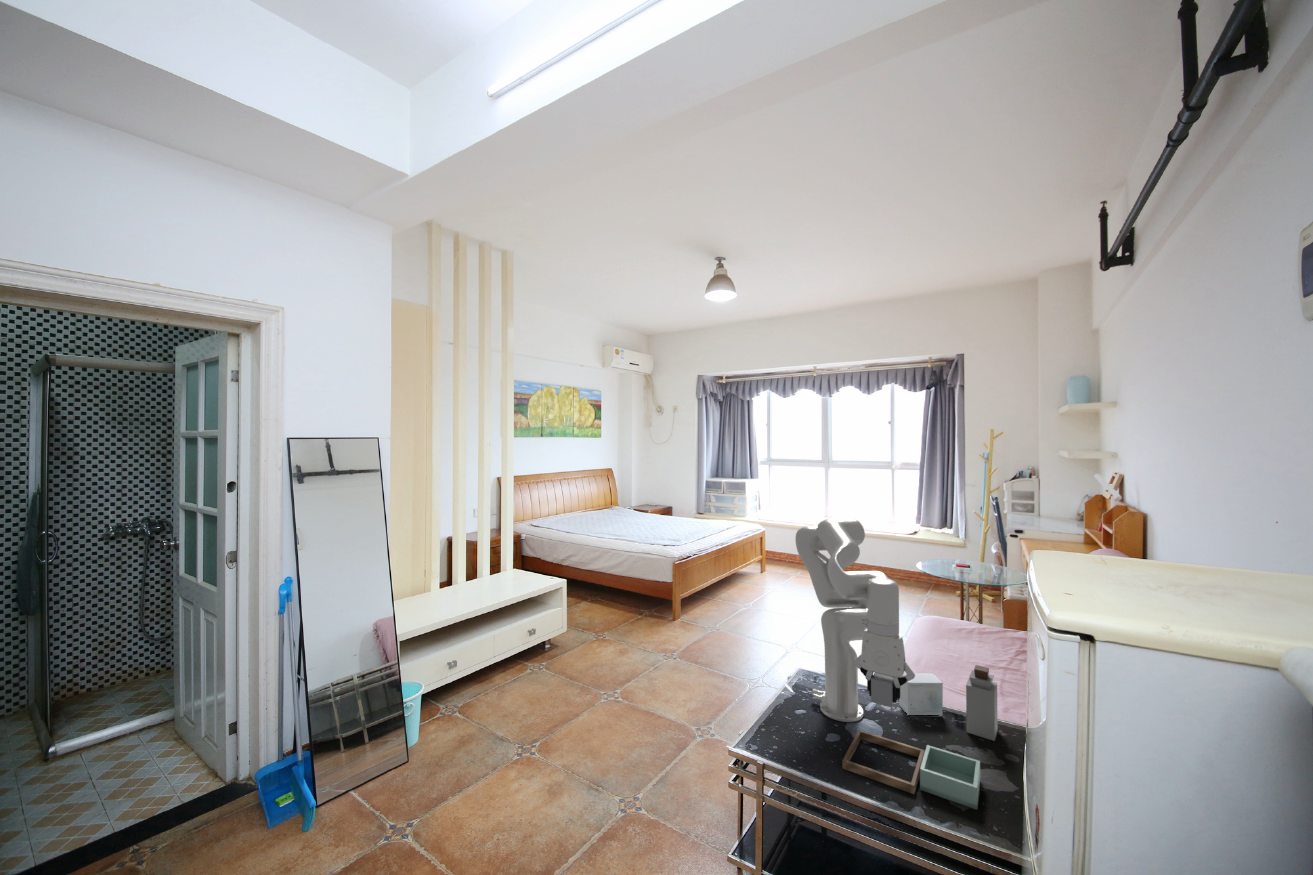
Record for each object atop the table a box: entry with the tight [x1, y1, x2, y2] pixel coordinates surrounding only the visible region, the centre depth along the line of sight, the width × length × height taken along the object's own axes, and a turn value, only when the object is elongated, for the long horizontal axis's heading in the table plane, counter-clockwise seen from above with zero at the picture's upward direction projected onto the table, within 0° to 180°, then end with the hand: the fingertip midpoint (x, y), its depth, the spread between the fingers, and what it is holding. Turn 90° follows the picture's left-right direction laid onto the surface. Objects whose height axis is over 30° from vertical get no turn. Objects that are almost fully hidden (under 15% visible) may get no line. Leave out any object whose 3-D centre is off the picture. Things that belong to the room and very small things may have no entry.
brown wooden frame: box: [841, 729, 926, 795], centre depth 132 cm, size 17×17×2 cm
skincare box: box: [899, 672, 944, 717], centre depth 156 cm, size 10×6×10 cm, turn 88°
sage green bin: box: [919, 744, 981, 811], centre depth 123 cm, size 12×12×5 cm
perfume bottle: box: [965, 664, 999, 742], centre depth 145 cm, size 7×7×18 cm
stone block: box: [870, 672, 895, 708], centre depth 132 cm, size 5×5×6 cm
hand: (883, 696), depth 132 cm, fingers closed on stone block, 5 cm apart
